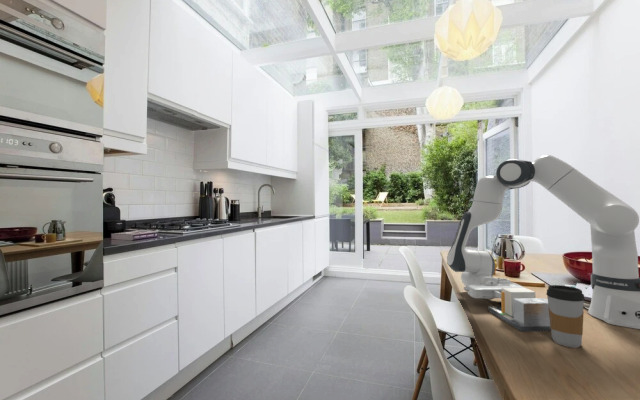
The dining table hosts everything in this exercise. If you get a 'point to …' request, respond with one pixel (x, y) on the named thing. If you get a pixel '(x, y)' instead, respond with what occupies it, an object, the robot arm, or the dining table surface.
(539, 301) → the base
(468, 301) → the dining table surface
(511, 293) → the cream rectangular block
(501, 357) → the dining table surface
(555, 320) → the coffee cup
